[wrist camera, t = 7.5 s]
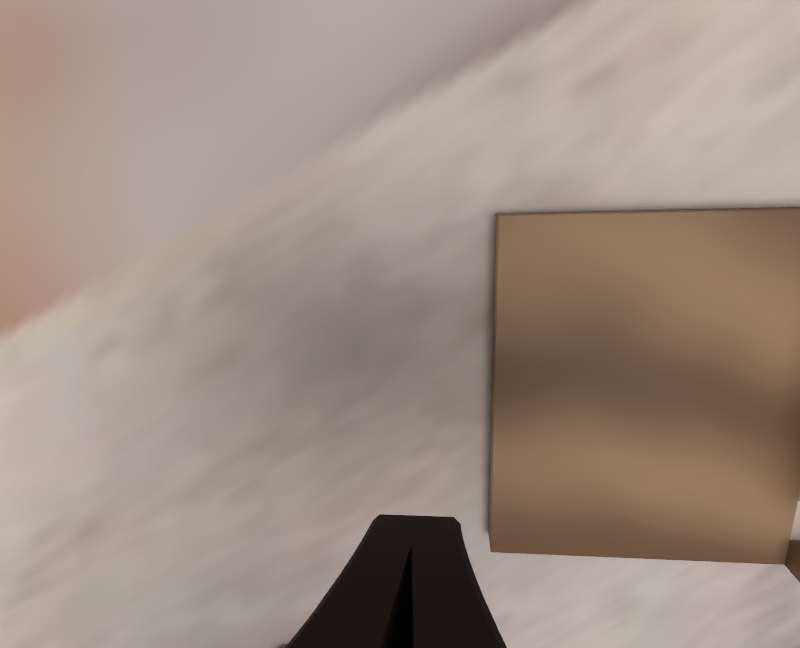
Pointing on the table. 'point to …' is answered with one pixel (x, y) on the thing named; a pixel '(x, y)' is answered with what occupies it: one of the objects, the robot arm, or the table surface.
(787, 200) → the table surface
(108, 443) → the table surface
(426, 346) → the table surface
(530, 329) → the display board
